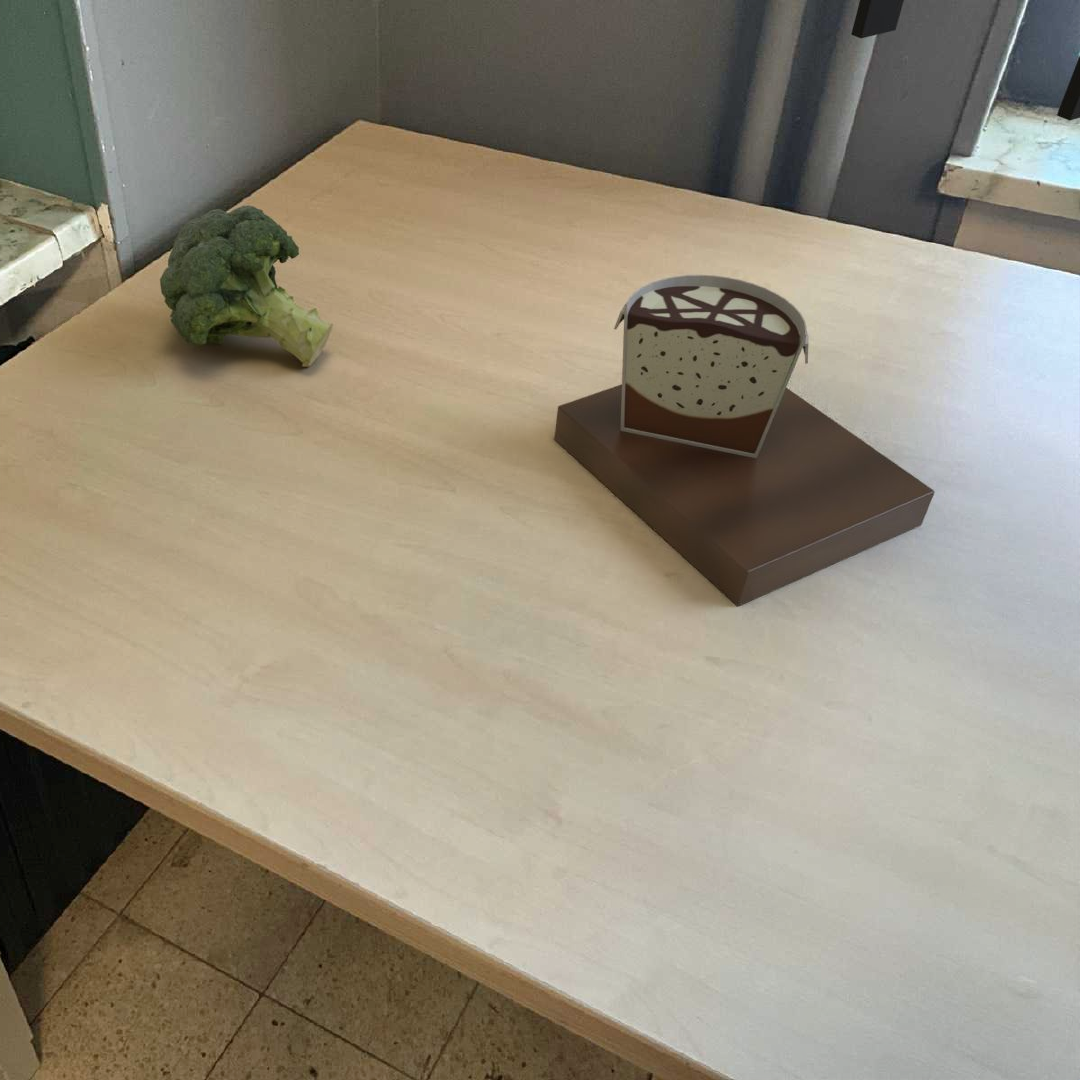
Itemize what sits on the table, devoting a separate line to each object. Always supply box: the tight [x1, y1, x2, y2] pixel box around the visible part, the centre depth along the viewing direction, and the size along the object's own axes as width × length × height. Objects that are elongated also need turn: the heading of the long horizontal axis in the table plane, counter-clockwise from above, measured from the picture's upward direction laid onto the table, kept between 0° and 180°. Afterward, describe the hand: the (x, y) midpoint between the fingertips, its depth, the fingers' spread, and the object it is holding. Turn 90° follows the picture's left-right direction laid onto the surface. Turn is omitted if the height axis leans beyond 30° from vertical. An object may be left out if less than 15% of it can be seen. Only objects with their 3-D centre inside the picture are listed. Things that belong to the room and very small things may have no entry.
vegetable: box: [159, 205, 334, 368], centre depth 93 cm, size 12×13×15 cm
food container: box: [613, 274, 809, 458], centre depth 79 cm, size 12×6×10 cm, turn 69°
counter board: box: [553, 383, 936, 607], centre depth 81 cm, size 20×16×3 cm
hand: (969, 70), depth 62 cm, fingers open, 13 cm apart
